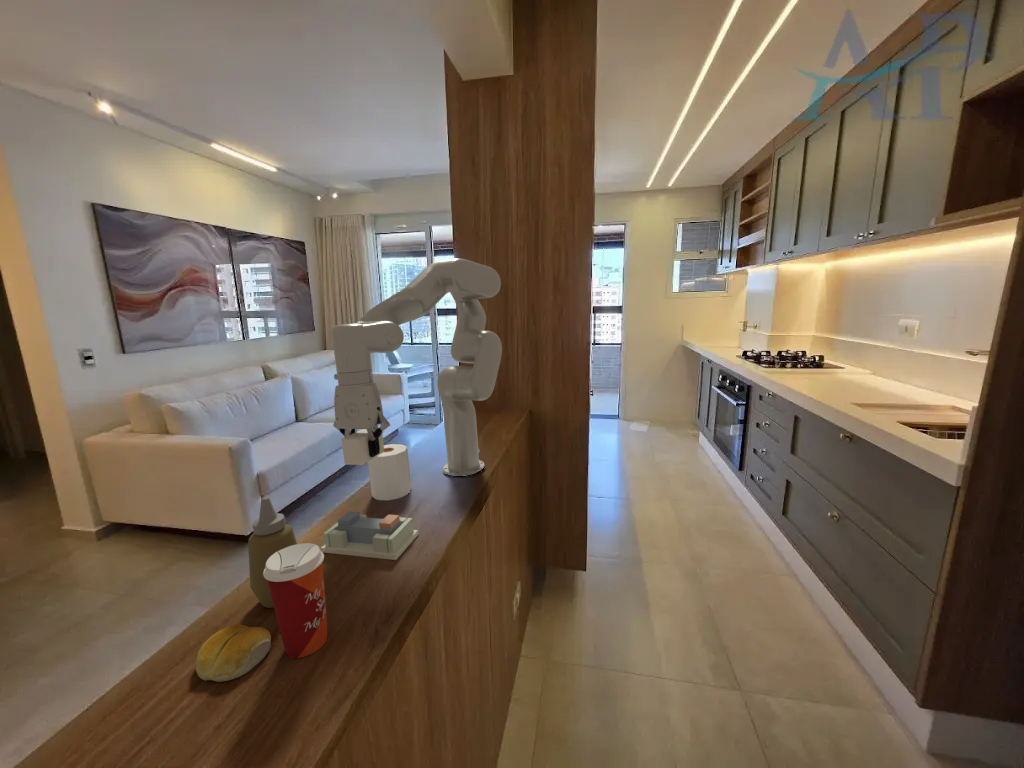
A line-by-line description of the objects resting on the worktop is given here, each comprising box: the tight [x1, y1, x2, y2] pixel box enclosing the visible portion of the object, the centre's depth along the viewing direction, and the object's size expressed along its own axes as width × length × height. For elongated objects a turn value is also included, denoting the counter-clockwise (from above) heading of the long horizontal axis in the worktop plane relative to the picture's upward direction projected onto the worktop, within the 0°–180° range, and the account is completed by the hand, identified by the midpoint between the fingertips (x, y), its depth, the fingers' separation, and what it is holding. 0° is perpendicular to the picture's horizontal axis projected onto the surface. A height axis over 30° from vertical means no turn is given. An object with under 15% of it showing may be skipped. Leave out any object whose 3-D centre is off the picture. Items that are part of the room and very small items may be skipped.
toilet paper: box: [367, 443, 412, 502], centre depth 111 cm, size 10×10×12 cm
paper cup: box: [263, 542, 328, 659], centre depth 60 cm, size 8×8×14 cm
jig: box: [320, 513, 419, 561], centre depth 87 cm, size 10×17×4 cm, turn 76°
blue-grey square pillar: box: [337, 510, 401, 544], centre depth 87 cm, size 4×12×5 cm, turn 76°
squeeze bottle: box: [247, 497, 298, 609], centre depth 70 cm, size 8×8×18 cm
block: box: [341, 429, 385, 466], centre depth 97 cm, size 9×4×6 cm, turn 164°
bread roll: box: [195, 624, 272, 683], centre depth 58 cm, size 8×9×4 cm
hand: (364, 454), depth 98 cm, fingers closed on block, 4 cm apart
